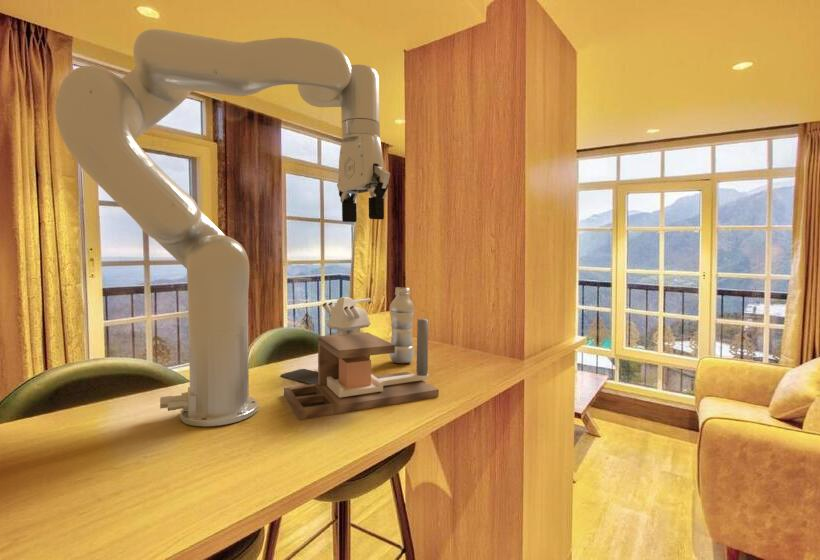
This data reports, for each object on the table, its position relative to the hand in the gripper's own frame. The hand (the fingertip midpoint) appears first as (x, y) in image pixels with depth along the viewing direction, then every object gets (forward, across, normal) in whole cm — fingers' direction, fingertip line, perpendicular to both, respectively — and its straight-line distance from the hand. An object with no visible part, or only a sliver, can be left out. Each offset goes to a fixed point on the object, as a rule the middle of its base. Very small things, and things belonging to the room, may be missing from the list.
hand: (362, 220), depth 85 cm
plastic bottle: (+36, -14, +21) cm, 44 cm away
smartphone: (+36, -16, -4) cm, 39 cm away
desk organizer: (+36, +1, -2) cm, 36 cm away
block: (+33, +1, -3) cm, 33 cm away
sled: (+34, +2, +3) cm, 34 cm away
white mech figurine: (+36, -18, +8) cm, 41 cm away
